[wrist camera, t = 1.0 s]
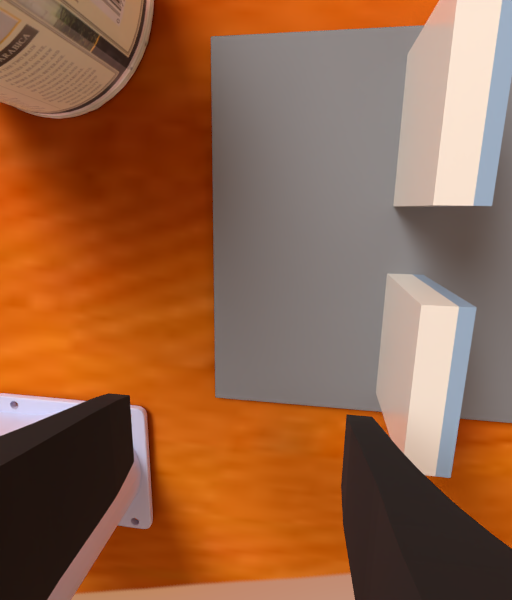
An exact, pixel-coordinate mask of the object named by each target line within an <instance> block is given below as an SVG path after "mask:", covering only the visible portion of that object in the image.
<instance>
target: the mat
mask: <svg viewBox="0 0 512 600" xmlns="http://www.w3.org/2000/svg"><path fill="white" fill-rule="evenodd" d="M424 26H425V25H424ZM424 26H404V27H385V28H366V29H347V30H328V31H308V32H289V33H270V34H251V35H232V36H212V37H211V91H212V170H213V248H214V327H215V397H216V398H228V399H240V400H251V401H263V402H274V403H286V404H298V405H309V406H321V407H332V408H344V409H356V410H367V411H379V412H382V410H381V407H380V404H379V401H378V398H377V395H376V386H377V375H378V364H379V354H380V343H381V332H382V322H383V311H384V300H385V290H386V279H387V274H414V275H425V276H426V277H428V278H429V279H431V280H433V281H434V282H436V283H438V284H439V285H441V286H442V287H444V288H446V289H447V290H449V291H451V292H452V293H454V294H455V295H457V296H459V297H460V298H462V299H464V300H465V301H467V302H468V303H470V304H472V305H473V306H475V307H477V308H476V315H475V321H474V328H473V334H472V341H471V348H470V354H469V361H468V367H467V374H466V380H465V387H464V394H463V400H462V407H461V413H460V419H471V420H483V421H495V422H506V423H512V77H511V84H510V91H509V97H508V104H507V110H506V117H505V124H504V130H503V137H502V143H501V150H500V157H499V163H498V170H497V176H496V183H495V189H494V196H493V203H492V206H459V207H398V206H393V204H394V194H395V183H396V172H397V161H398V151H399V140H400V129H401V119H402V108H403V97H404V87H405V76H406V65H407V55H408V53H409V51H410V49H411V48H412V46H413V44H414V43H415V41H416V39H417V37H418V36H419V34H420V32H421V31H422V29H423V27H424Z"/></svg>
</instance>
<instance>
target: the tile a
mask: <svg viewBox="0 0 512 600" xmlns="http://www.w3.org/2000/svg"><path fill="white" fill-rule="evenodd" d="M476 308H477V307H475V306H473V305H472V304H470V303H468V302H467V301H465V300H464V299H462V298H460V297H459V296H457V295H455V294H454V293H452V292H451V291H449V290H447V289H446V288H444V287H442V286H441V285H439V284H438V283H436V282H434V281H433V280H431V279H429V278H428V277H426V276H425V275H414V274H387V279H386V290H385V300H384V311H383V322H382V332H381V343H380V354H379V364H378V375H377V386H376V395H377V398H378V401H379V404H380V407H381V410H382V413H383V417H384V420H385V423H386V426H387V429H388V432H389V435H390V438H391V440H392V441H393V442H394V443H395V444H396V445H397V447H398V448H399V449H400V450H401V451H402V452H403V453H404V454H405V455H406V457H407V458H408V459H409V460H410V461H411V462H412V463H413V464H414V465H415V466H416V467H417V468H418V469H419V470H420V471H421V472H422V473H423V474H424V475H428V476H437V477H446V478H451V473H452V466H453V459H454V453H455V446H456V440H457V433H458V427H459V420H460V413H461V407H462V400H463V394H464V387H465V380H466V374H467V367H468V361H469V354H470V348H471V341H472V334H473V328H474V321H475V315H476Z"/></svg>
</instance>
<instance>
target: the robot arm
mask: <svg viewBox="0 0 512 600" xmlns="http://www.w3.org/2000/svg"><path fill="white" fill-rule="evenodd" d="M16 402H17V403H18V405H17V404H16ZM131 416H132V417H131ZM341 488H342V509H343V526H344V533H345V539H346V546H347V552H348V558H349V565H350V571H351V577H352V583H353V589H354V595H355V600H512V549H511V548H510V547H508V546H507V545H506V544H504V543H503V542H502V541H500V540H499V539H498V538H496V537H495V536H494V535H492V534H491V533H490V532H489V531H487V530H486V529H485V528H484V527H483V526H481V525H480V524H479V523H478V522H476V521H475V520H474V519H473V518H471V517H470V516H469V515H468V514H467V513H465V512H464V511H463V510H462V509H460V508H459V507H458V506H457V505H456V504H455V503H454V502H452V501H451V500H450V499H449V498H448V497H447V496H446V495H445V494H444V493H443V492H442V491H441V490H439V489H438V488H437V487H436V486H435V485H434V484H433V483H432V482H431V481H430V480H429V479H428V478H427V477H426V476H425V475H424V474H423V473H422V472H421V471H420V470H419V469H418V468H417V467H416V466H415V465H414V464H413V463H412V462H411V461H410V460H409V459H408V458H407V457H406V455H405V454H404V453H403V452H402V451H401V450H400V449H399V448H398V447H397V445H396V444H395V443H394V442H393V441H392V440H391V438H390V437H389V436H388V435H387V434H386V433H385V431H384V430H383V429H382V428H381V427H380V426H379V424H378V423H377V422H376V421H375V420H374V419H373V417H368V416H356V415H347V418H346V431H345V444H344V457H343V471H342V484H341ZM135 518H136V519H138V520H136V519H135ZM152 522H153V508H152V491H151V474H150V457H149V440H148V423H147V413H146V410H145V409H144V408H143V407H141V406H136V405H130V395H119V394H106V395H102V396H99V397H96V398H93V399H90V400H88V401H82V400H71V399H60V398H49V397H38V396H27V395H17V394H6V393H0V600H71V599H72V597H73V596H74V594H75V592H76V591H77V589H78V588H79V586H80V585H81V583H82V581H83V580H84V578H85V577H86V575H87V573H88V572H89V570H90V569H91V567H92V565H93V564H94V562H95V561H96V559H97V557H98V556H99V554H100V553H101V551H102V549H103V548H104V546H105V545H106V543H107V541H108V540H109V538H110V537H111V535H112V533H113V532H114V530H115V529H116V527H117V525H118V526H125V527H132V528H140V529H148V528H149V527H150V526H151V524H152Z"/></svg>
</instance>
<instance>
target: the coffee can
mask: <svg viewBox="0 0 512 600" xmlns="http://www.w3.org/2000/svg"><path fill="white" fill-rule="evenodd" d="M153 9H154V0H0V102H2V103H5V104H8V105H11V106H14V107H16V108H17V109H19V110H22V111H24V112H26V113H29V114H33V115H36V116H40V117H46V118H58V119H62V118H70V117H75V116H80V115H83V114H85V113H88V112H90V111H93V110H96V109H98V108H100V107H101V106H102V105H103V104H105V103H106V102H107V101H109V100H110V99H112V98H113V97H114V96H115V95H116V94H117V93H118V92H119V91H120V90H121V89H122V88H123V87H124V86H125V85H126V84H127V82H128V81H129V79H130V78H131V77H132V75H133V74H134V72H135V71H136V69H137V67H138V65H139V63H140V61H141V59H142V57H143V54H144V52H145V49H146V46H147V44H148V40H149V35H150V30H151V24H152V18H153Z"/></svg>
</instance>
